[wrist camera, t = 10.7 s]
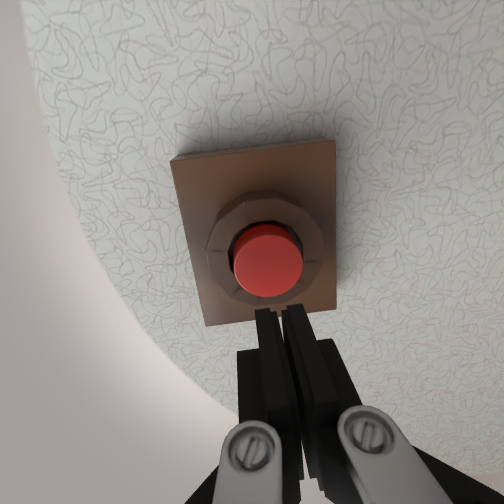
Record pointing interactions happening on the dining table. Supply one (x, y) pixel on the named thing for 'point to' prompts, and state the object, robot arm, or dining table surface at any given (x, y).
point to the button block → (259, 220)
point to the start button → (267, 260)
